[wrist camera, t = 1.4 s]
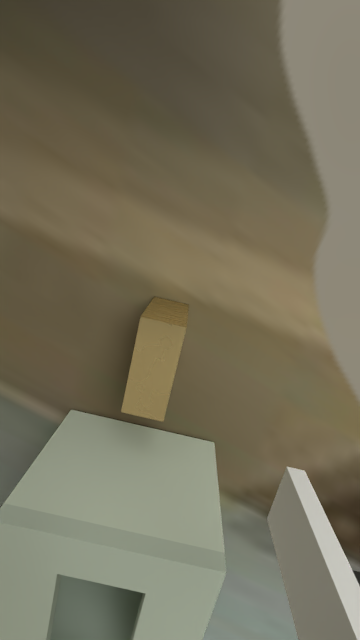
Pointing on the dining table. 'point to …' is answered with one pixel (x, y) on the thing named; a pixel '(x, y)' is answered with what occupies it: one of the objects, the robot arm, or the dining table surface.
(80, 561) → the box
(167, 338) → the tan wooden block
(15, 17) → the dining table surface
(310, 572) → the robot arm
